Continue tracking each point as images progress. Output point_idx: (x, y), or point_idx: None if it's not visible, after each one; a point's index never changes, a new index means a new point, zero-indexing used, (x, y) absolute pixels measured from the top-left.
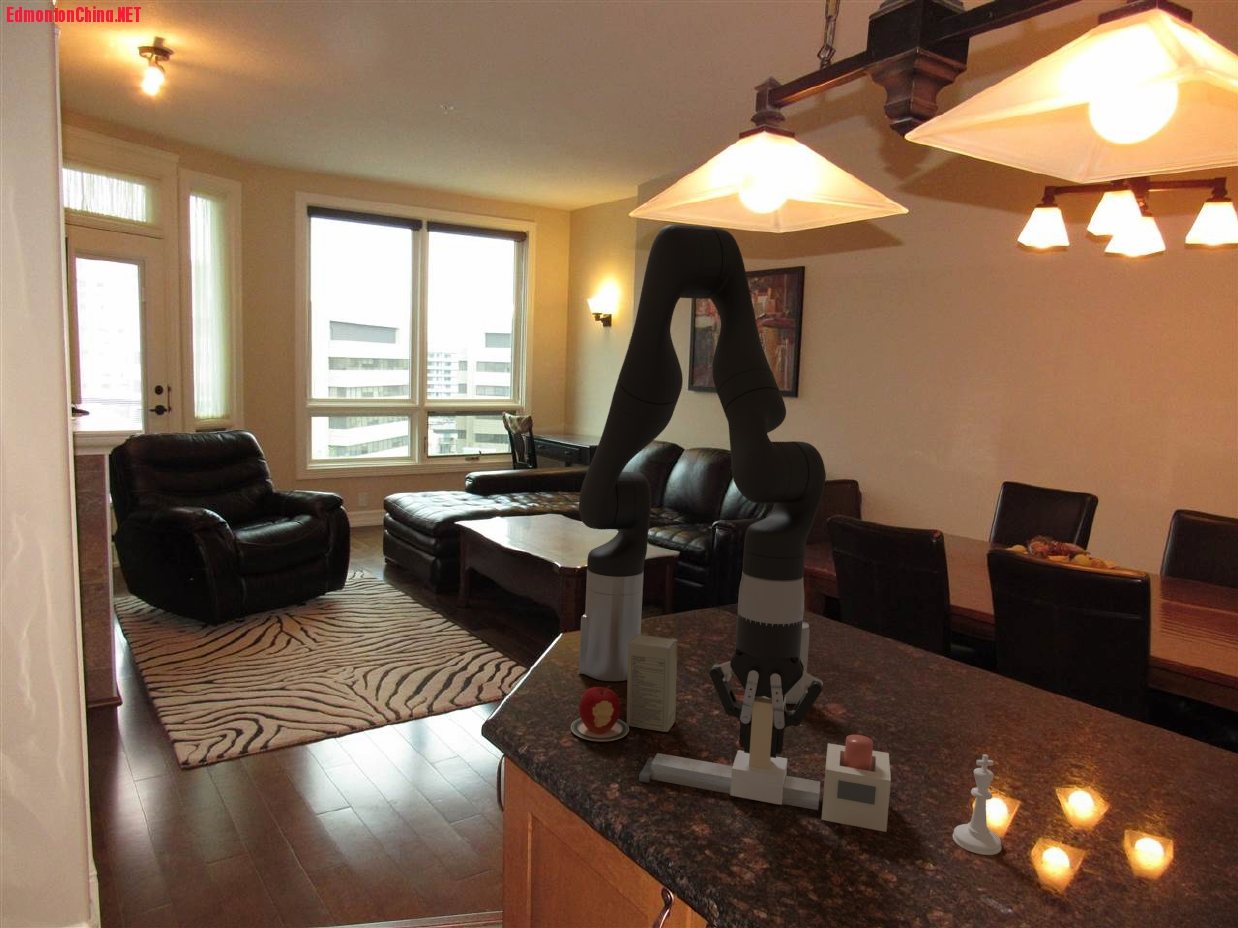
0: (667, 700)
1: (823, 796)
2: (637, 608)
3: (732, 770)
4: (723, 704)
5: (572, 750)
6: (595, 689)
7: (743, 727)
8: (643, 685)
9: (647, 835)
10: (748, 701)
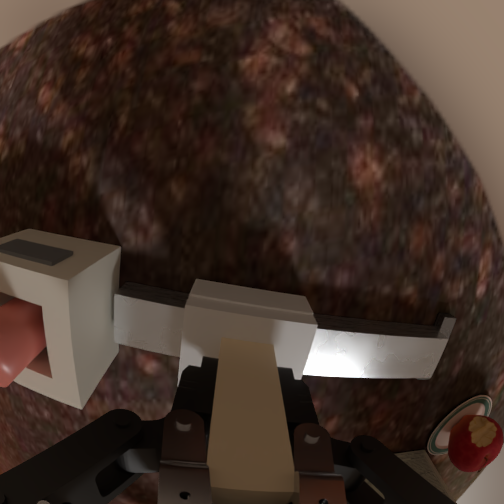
0: None
1: (100, 258)
2: None
3: (315, 322)
4: (396, 459)
5: (501, 365)
6: (492, 457)
7: (306, 419)
8: None
9: (447, 139)
10: (321, 483)
